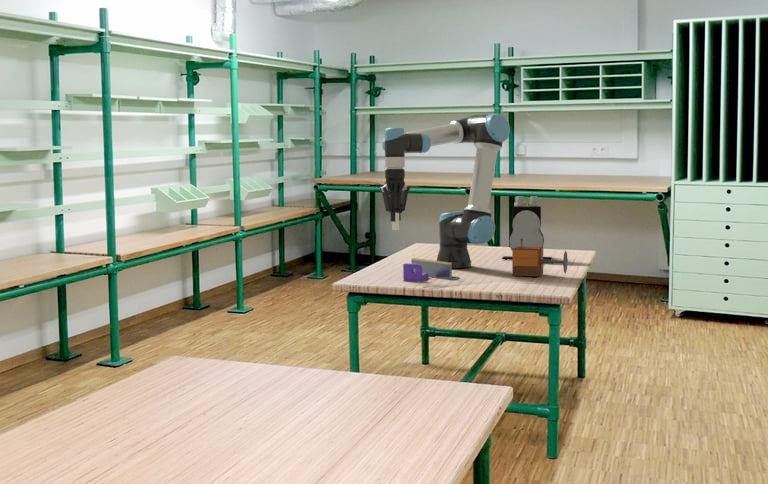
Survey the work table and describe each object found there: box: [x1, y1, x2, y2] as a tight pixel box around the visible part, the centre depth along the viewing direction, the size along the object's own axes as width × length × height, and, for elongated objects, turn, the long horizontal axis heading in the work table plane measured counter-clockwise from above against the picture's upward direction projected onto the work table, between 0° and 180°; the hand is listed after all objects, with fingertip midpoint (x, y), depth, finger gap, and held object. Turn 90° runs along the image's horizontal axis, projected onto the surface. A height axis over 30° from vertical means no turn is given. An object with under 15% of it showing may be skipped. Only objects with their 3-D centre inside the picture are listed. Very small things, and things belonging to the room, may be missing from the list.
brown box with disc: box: [511, 239, 569, 277], centre depth 342 cm, size 11×20×14 cm, turn 67°
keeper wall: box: [411, 257, 461, 281], centre depth 339 cm, size 5×24×7 cm, turn 36°
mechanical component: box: [501, 195, 553, 260], centre depth 390 cm, size 22×21×30 cm
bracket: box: [402, 263, 429, 283], centre depth 331 cm, size 12×7×7 cm, turn 164°
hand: (395, 229), depth 330 cm, fingers closed
